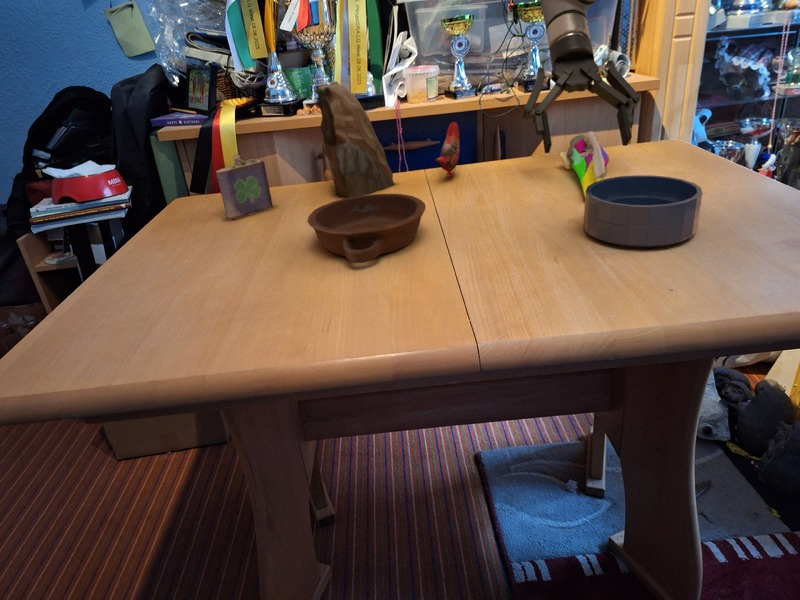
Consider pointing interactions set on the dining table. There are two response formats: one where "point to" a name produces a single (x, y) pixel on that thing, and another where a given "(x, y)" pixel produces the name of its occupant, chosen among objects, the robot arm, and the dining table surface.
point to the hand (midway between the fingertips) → (587, 145)
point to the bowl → (642, 210)
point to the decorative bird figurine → (450, 149)
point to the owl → (351, 144)
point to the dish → (367, 224)
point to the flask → (244, 188)
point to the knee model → (586, 159)
